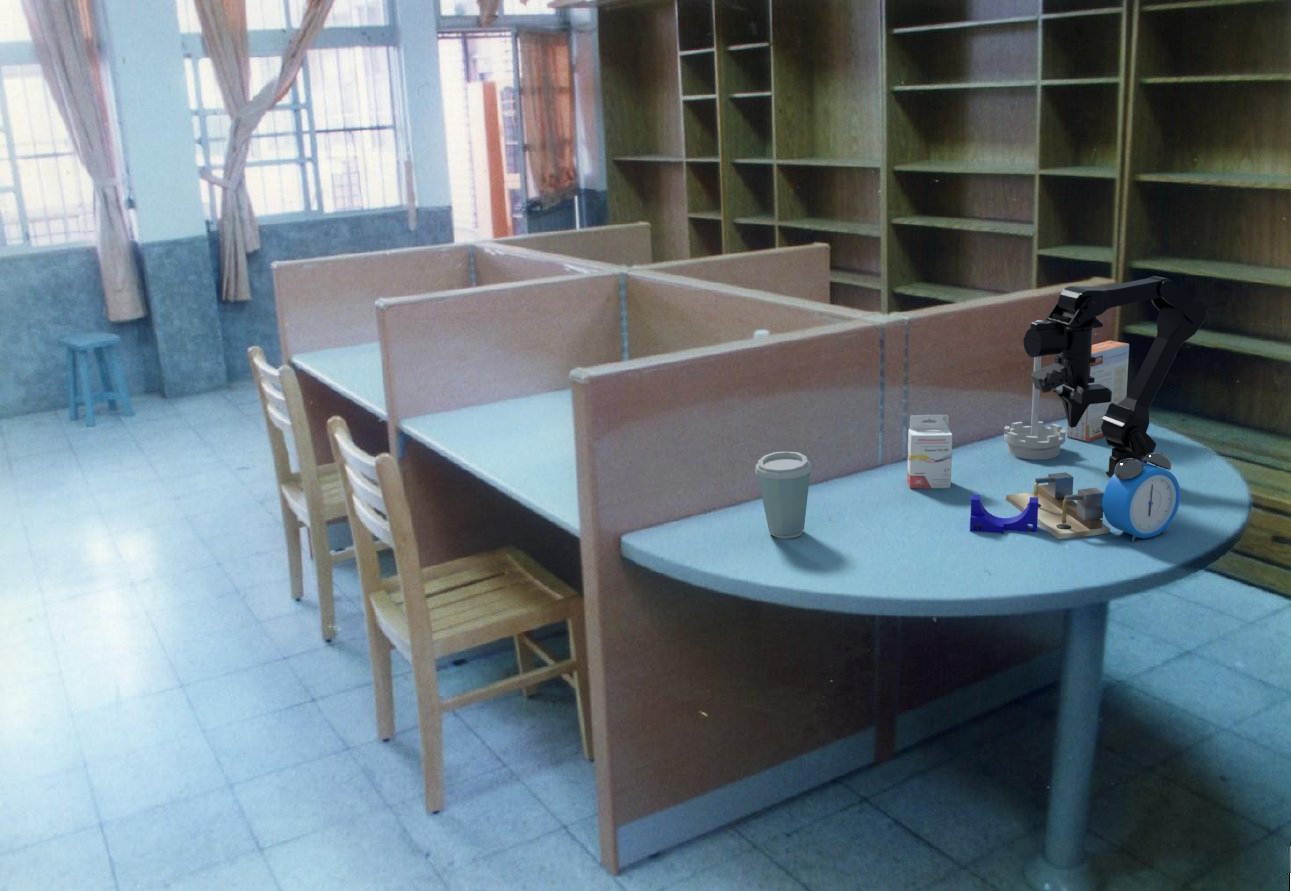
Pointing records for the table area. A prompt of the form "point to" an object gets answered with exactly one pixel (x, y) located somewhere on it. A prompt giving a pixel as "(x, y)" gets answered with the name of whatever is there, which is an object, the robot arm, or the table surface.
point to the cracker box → (1111, 375)
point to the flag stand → (1034, 432)
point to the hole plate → (1066, 512)
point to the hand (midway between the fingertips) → (1072, 427)
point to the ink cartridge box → (929, 452)
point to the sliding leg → (1056, 485)
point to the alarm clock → (1142, 496)
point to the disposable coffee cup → (784, 491)
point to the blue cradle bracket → (993, 524)
